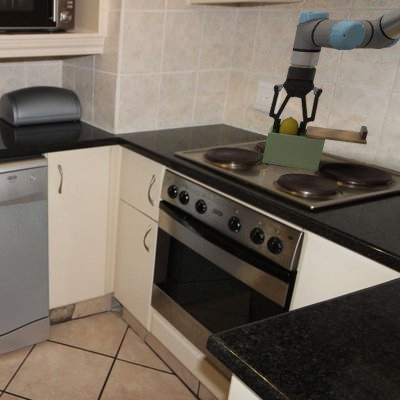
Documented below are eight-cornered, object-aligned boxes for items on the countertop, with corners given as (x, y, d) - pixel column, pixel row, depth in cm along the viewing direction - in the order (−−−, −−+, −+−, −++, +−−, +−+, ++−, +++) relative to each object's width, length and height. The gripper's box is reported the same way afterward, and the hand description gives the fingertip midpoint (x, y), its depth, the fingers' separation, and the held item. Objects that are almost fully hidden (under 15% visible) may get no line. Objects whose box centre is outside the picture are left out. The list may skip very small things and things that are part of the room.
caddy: (318, 160, 156) (325, 131, 152) (317, 171, 145) (325, 140, 142) (266, 152, 162) (272, 124, 159) (262, 162, 152) (268, 132, 149)
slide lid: (363, 135, 147) (366, 124, 146) (366, 144, 137) (369, 133, 136) (307, 128, 154) (309, 118, 153) (305, 136, 144) (307, 126, 143)
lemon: (295, 144, 149) (300, 119, 146) (275, 142, 152) (280, 117, 149) (296, 140, 153) (301, 116, 151) (278, 138, 156) (282, 114, 153)
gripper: (338, 67, 142) (319, 142, 151) (270, 62, 151) (256, 134, 160) (338, 70, 136) (318, 148, 145) (268, 65, 145) (253, 139, 154)
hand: (286, 140), depth 152 cm, fingers closed on lemon, 5 cm apart
